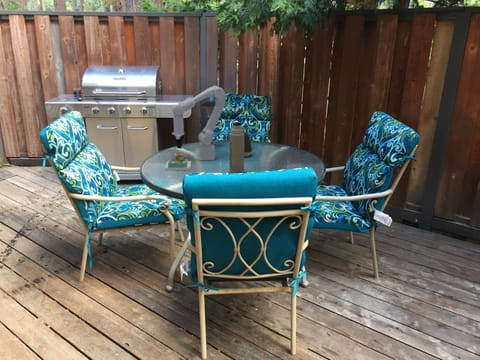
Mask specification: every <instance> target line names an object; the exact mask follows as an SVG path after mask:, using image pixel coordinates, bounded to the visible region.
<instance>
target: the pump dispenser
mask: <svg viewBox="0 0 480 360" xmlns="http://www.w3.org/2000/svg"><path fill="white" fill-rule="evenodd" d="M243 133H244V158H248V157H249V156H250V155H251V154H252V151H253V144H252V140H251V136H250V134H249V133H248V132H246V131H243Z"/></svg>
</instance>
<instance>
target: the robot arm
mask: <svg viewBox="0 0 480 360" xmlns="http://www.w3.org/2000/svg"><path fill="white" fill-rule="evenodd" d="M207 98H213V99H214V102H216V105H215V107H214V109H213V111H212V114H211V116H210V118H208V120H207V123H206V125H205V127H204V128H203V129H202V131H200V132H199V134H198V137H197V138H198V141H199V143H198V147H199V148H198V149H199V153H198V154H199V155H198V161H214V160H215V157H216V153H215V144H213V136H214V130H215V128H216V125H217V124H218V121H219V119H220V117H221V116H222V115H221V114H222V113H223V111H224V108H225V106H226V92H225V90H224V89H223V88H222V87H219V86H218V85H212V86H211V87H208V88H206V89H204V90H203V91H202V92H200V93H198V94H197V95H196V96H193V97H186V98H185V99H184V100H183V101H181V102H178V104H174V105H173V106H172V109H171V111H172V113H173V116H172V117H173V119H172V121H173V132H172V133H171V135H174V136H173V139H174V141H175V143H176V146H177V149H182V147H183V141H184V139H185V128H184V127H185V126H184V113H185V112H187V111H189V110H190V109H192V108H194V107H195V105H196V103H199V102H200V101H203V100H205V99H207ZM211 142H212V144H211Z"/></svg>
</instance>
